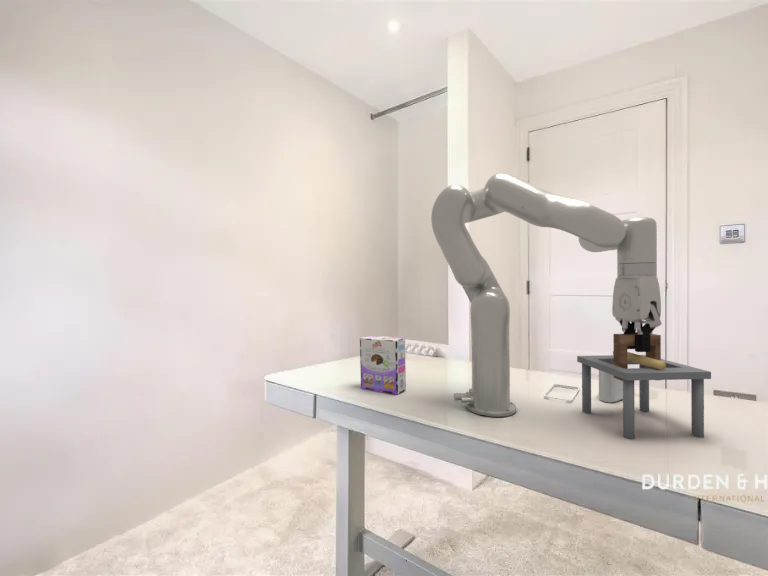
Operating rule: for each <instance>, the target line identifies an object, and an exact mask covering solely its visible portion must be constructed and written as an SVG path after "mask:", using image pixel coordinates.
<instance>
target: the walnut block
mask: <svg viewBox="0 0 768 576" xmlns="http://www.w3.org/2000/svg"><path fill="white" fill-rule="evenodd" d="M661 338H662V336H661V334H655V333H652V335H650V352H645V355H646V357H649V358H653V359H656V360H660V361H661V359H662V357H661V356H662V355H661V354H662V348H661V345H662V342H661V341H662V339H661ZM627 346H635V334H624V333H613V351H614V365H616V366H619V367H622V368H625V369H629V364H628V361H627V352H628V349H627ZM646 368H651V367H648V366H646ZM614 378H616V379H619V380H621V381H623V379H621V378H619V377H616V376H614Z"/></svg>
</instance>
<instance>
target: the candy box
mask: <svg viewBox="0 0 768 576" xmlns="http://www.w3.org/2000/svg"><path fill="white" fill-rule="evenodd" d="M359 354H360V355H359V359H360V360H359V361H360V362H359V363H360V365H359V366H360V367H359V368H360V389H362V390H369V391H374V392H379V393H385V394H392V395H399V394H401V393H403V392H405V391H406V390H407V384H406V379H407V378H406V377H407V376H406V375H407V374H406V373H407V371H406V369H407V368H406V338H403V337H392V336H391V337H390V336H377V335H376V336H375V335H366V336H363V337H359Z"/></svg>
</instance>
